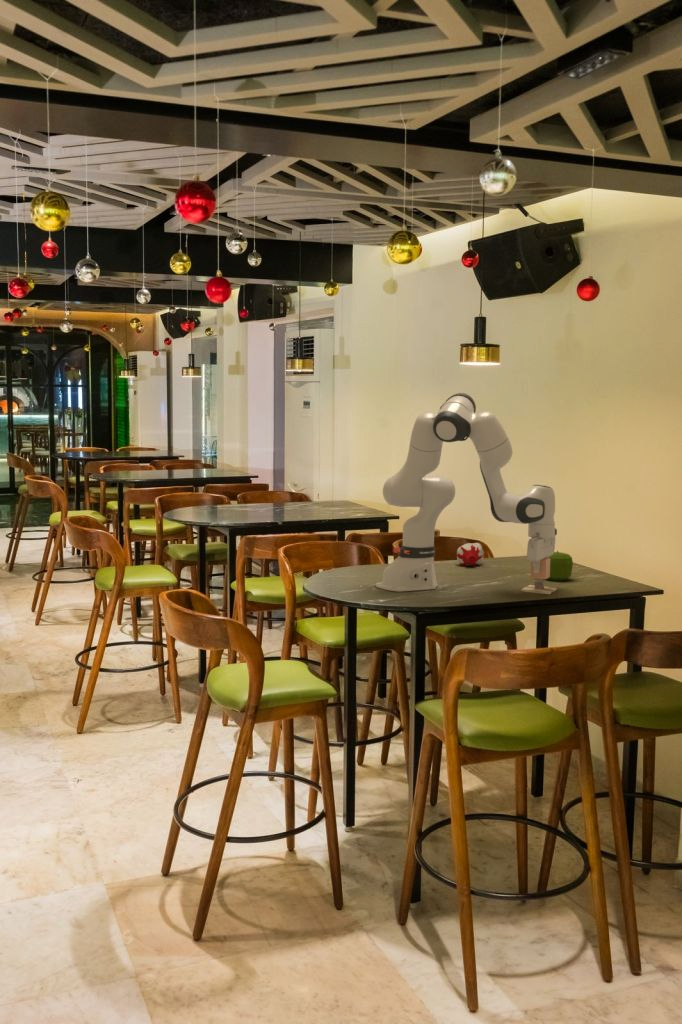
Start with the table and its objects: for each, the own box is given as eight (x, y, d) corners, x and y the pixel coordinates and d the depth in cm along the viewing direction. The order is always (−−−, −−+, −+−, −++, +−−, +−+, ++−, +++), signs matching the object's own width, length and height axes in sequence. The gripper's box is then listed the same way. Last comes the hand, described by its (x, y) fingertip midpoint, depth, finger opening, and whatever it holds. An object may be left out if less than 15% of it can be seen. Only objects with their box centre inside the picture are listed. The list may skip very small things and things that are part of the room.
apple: (576, 581, 336) (578, 552, 335) (549, 582, 334) (550, 552, 333) (564, 576, 347) (565, 548, 346) (537, 577, 345) (538, 548, 344)
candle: (481, 561, 379) (486, 571, 364) (453, 560, 379) (457, 571, 364) (482, 540, 377) (487, 549, 362) (454, 539, 377) (458, 549, 362)
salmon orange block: (545, 579, 314) (546, 560, 313) (530, 577, 316) (531, 559, 315) (549, 576, 318) (550, 558, 318) (535, 575, 321) (535, 556, 320)
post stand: (549, 594, 312) (550, 575, 311) (520, 591, 316) (521, 573, 316) (557, 589, 320) (558, 571, 320) (529, 586, 325) (530, 569, 325)
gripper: (541, 535, 305) (539, 576, 307) (558, 529, 323) (557, 568, 324) (522, 534, 308) (521, 574, 310) (541, 528, 326) (540, 566, 327)
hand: (540, 571), depth 317 cm, fingers closed on salmon orange block, 5 cm apart
